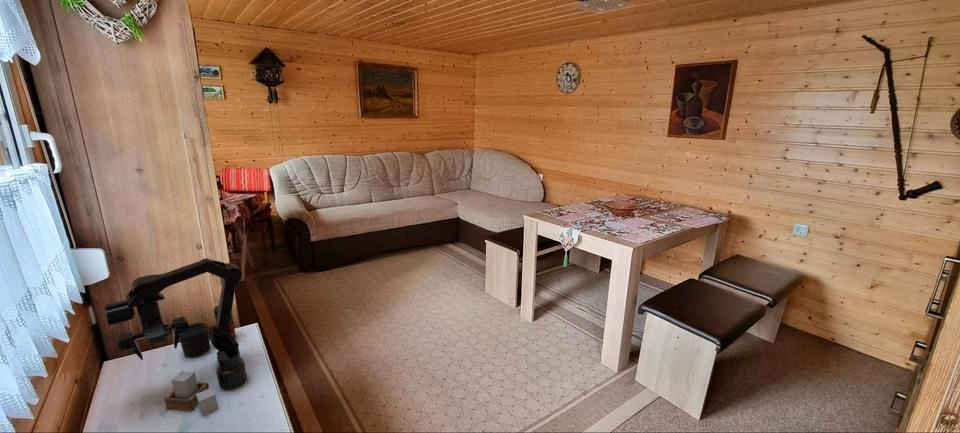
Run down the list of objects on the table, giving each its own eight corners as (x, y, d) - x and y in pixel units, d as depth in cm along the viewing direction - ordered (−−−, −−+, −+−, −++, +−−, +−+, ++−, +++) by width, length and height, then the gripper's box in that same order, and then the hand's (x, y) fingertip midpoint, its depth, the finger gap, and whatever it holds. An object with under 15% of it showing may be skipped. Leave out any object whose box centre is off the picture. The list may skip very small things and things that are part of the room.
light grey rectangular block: (187, 395, 139) (182, 371, 136) (200, 396, 139) (194, 372, 136) (177, 404, 135) (171, 380, 132) (190, 406, 135) (184, 381, 132)
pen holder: (216, 348, 164) (212, 326, 161) (192, 361, 156) (188, 339, 153) (201, 341, 168) (197, 320, 165) (177, 354, 160) (172, 332, 157)
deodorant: (231, 333, 174) (226, 302, 170) (238, 338, 171) (233, 307, 166) (216, 339, 170) (210, 308, 165) (223, 345, 166) (217, 313, 162)
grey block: (214, 400, 138) (211, 387, 136) (218, 408, 135) (215, 394, 133) (198, 407, 134) (195, 394, 133) (202, 415, 131) (199, 401, 130)
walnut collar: (186, 390, 142) (184, 380, 140) (209, 392, 141) (207, 383, 140) (166, 408, 133) (164, 399, 132) (191, 411, 133) (188, 401, 132)
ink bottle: (244, 370, 152) (239, 342, 149) (252, 382, 146) (247, 354, 143) (214, 382, 146) (209, 354, 142) (221, 395, 140) (215, 366, 136)
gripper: (114, 335, 124) (126, 377, 128) (188, 313, 136) (196, 353, 141) (111, 320, 131) (123, 360, 136) (181, 301, 144) (189, 339, 148)
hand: (159, 353), depth 140 cm, fingers open, 9 cm apart
